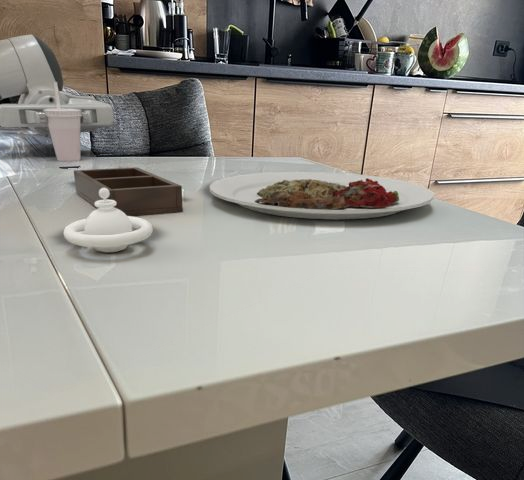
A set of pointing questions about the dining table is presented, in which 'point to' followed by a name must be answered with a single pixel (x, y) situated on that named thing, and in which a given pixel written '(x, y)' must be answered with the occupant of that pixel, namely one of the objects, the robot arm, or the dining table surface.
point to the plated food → (321, 194)
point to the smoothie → (64, 131)
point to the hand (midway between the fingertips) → (64, 117)
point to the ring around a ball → (107, 227)
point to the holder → (130, 190)
